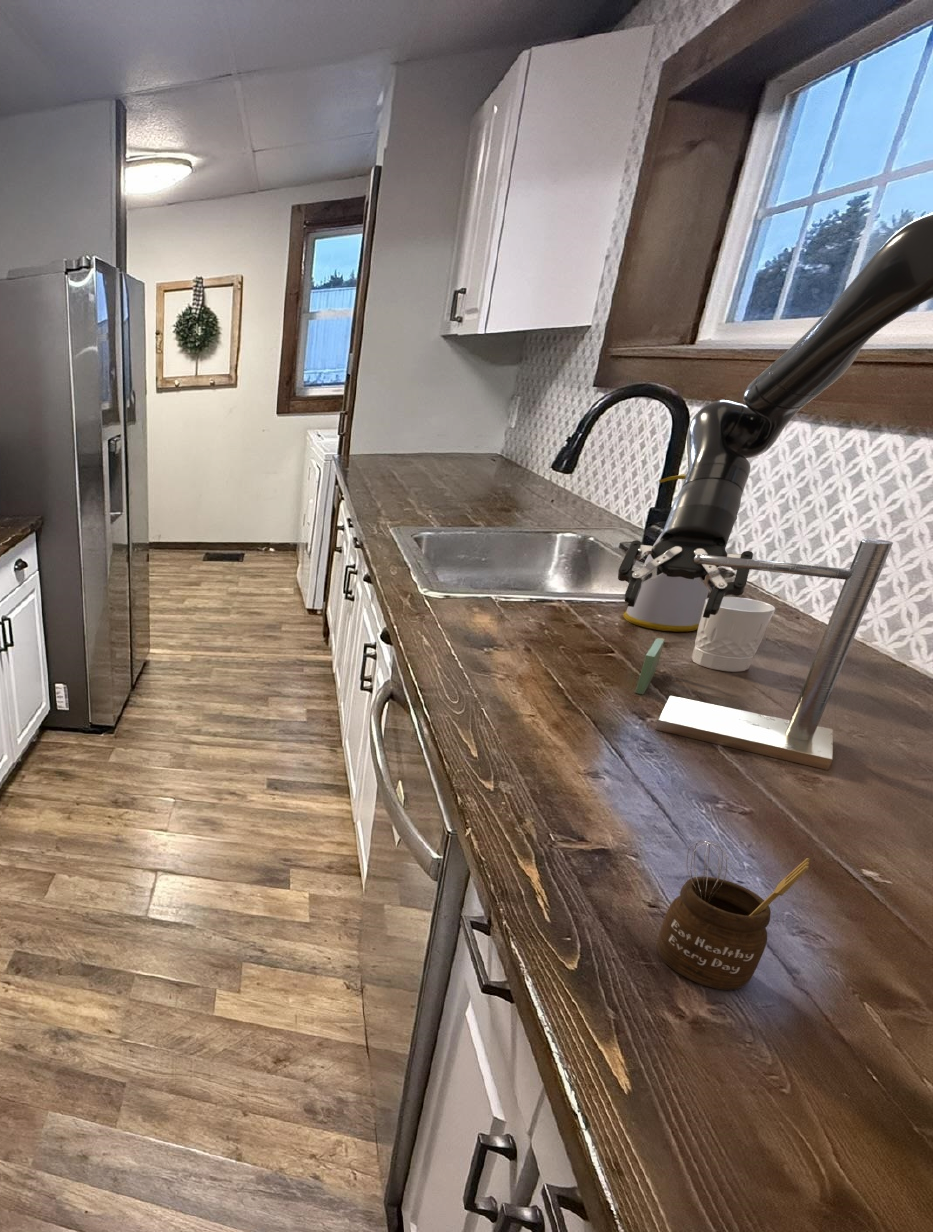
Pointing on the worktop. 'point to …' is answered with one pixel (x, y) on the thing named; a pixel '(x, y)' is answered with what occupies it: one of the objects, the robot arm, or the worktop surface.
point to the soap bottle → (669, 600)
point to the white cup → (732, 634)
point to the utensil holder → (718, 928)
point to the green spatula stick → (649, 665)
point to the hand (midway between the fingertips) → (667, 609)
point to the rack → (802, 732)
